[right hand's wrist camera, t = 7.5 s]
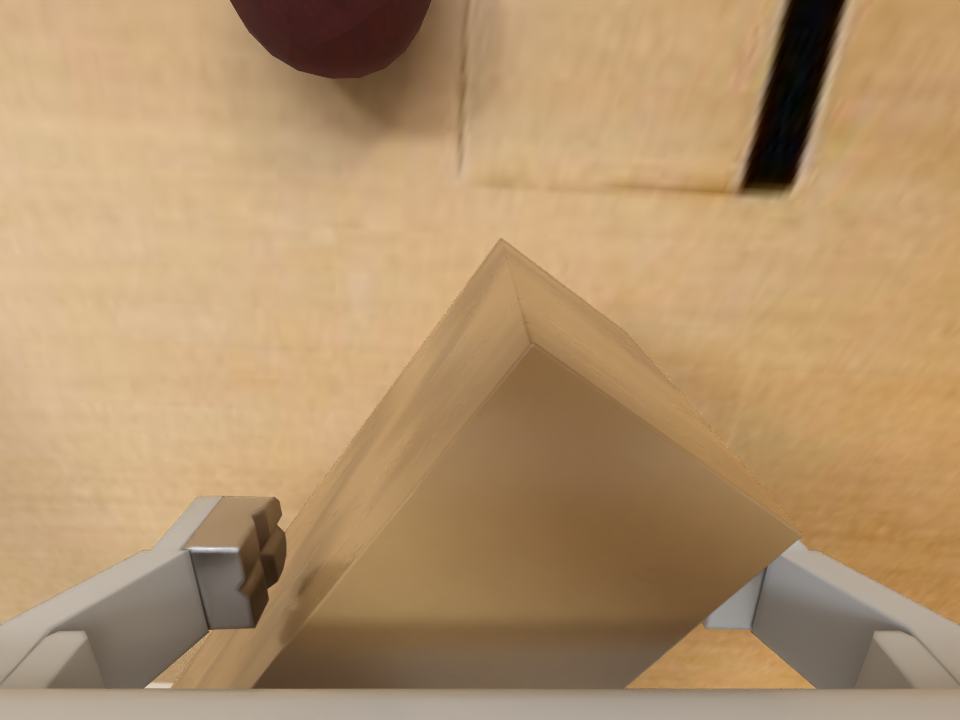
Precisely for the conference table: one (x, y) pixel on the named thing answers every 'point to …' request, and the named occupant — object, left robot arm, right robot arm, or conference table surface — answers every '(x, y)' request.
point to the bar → (508, 516)
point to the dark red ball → (334, 32)
